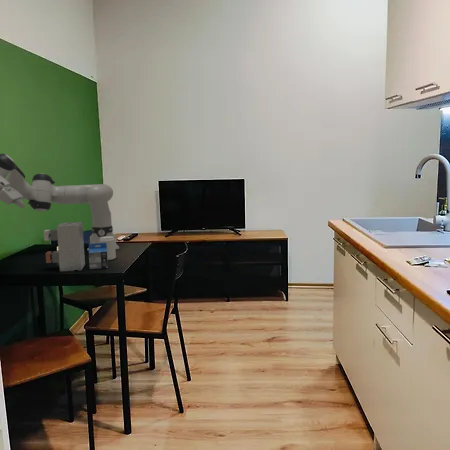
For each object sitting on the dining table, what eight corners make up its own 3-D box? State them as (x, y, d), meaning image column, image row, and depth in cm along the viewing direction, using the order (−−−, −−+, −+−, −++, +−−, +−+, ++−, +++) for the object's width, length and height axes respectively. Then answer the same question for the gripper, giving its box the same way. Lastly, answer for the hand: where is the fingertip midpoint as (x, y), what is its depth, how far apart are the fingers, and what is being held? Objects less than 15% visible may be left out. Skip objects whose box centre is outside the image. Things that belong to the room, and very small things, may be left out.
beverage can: (100, 261, 247) (98, 238, 246) (101, 258, 255) (99, 236, 254) (115, 260, 249) (114, 238, 247) (116, 257, 257) (115, 235, 255)
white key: (46, 239, 231) (45, 229, 230) (58, 238, 232) (57, 229, 231) (44, 240, 226) (43, 231, 226) (56, 240, 227) (55, 230, 227)
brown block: (48, 260, 233) (47, 251, 232) (59, 260, 234) (59, 250, 233) (46, 263, 228) (45, 253, 227) (58, 262, 229) (57, 252, 228)
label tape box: (89, 269, 228) (87, 245, 226) (89, 267, 232) (88, 243, 230) (107, 268, 230) (106, 243, 228) (108, 266, 234) (106, 242, 232)
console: (56, 265, 238) (53, 223, 235) (85, 264, 240) (82, 221, 237) (51, 272, 224) (48, 226, 221) (81, 270, 227) (78, 225, 224)
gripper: (2, 191, 234) (24, 209, 237) (-11, 193, 214) (13, 213, 217) (11, 181, 234) (33, 200, 237) (-2, 183, 214) (22, 204, 217)
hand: (23, 207), depth 227 cm, fingers closed
